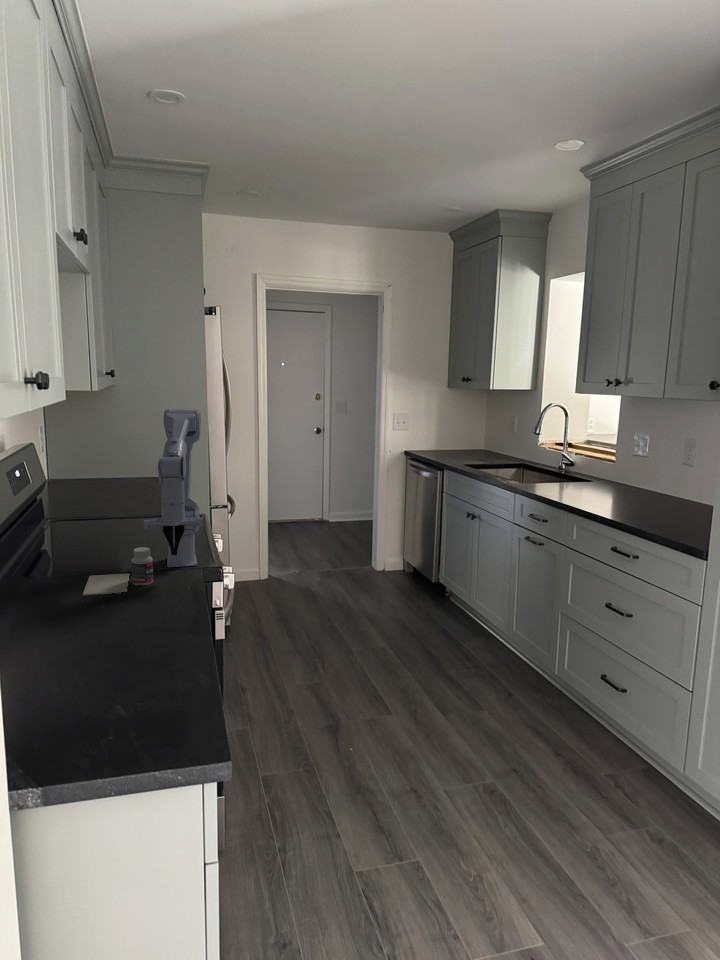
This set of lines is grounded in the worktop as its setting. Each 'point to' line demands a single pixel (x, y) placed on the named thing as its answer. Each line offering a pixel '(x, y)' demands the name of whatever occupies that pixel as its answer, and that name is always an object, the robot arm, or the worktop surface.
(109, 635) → the worktop surface
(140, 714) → the worktop surface
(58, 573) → the worktop surface
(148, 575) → the pill bottle
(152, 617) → the worktop surface
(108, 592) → the mat
